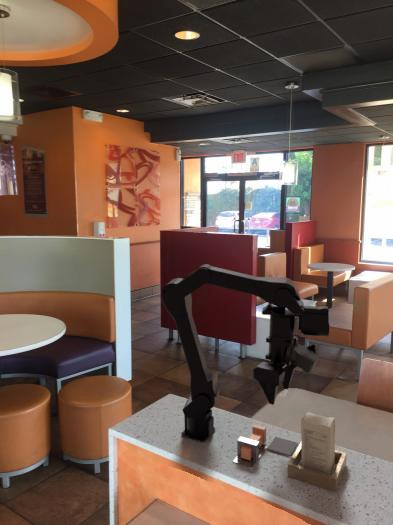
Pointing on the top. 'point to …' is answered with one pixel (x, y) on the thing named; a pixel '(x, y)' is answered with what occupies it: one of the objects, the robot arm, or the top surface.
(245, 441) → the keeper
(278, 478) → the top surface
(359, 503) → the top surface
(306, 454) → the skincare box
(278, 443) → the coaster
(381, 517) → the top surface
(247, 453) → the lock bar
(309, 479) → the open wooden box
